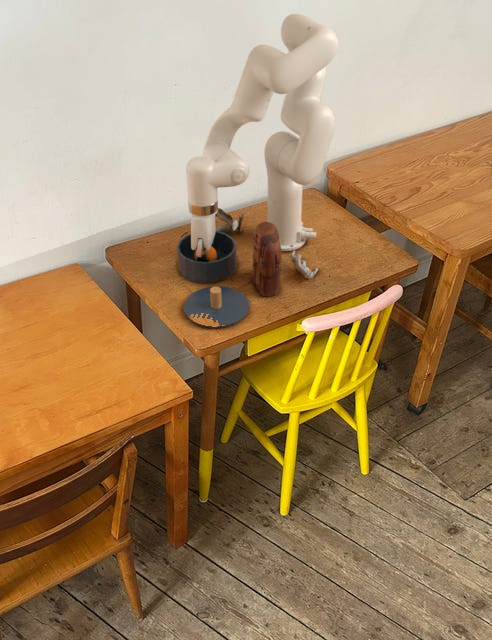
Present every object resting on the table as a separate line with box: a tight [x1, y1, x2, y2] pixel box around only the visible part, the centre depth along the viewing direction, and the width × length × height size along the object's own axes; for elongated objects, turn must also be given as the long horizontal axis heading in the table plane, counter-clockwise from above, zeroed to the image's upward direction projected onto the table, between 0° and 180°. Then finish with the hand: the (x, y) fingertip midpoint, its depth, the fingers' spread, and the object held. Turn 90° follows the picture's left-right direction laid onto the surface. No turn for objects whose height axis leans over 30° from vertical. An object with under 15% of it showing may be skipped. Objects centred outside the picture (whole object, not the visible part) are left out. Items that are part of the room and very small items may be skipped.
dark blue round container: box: [176, 231, 238, 284], centre depth 200 cm, size 16×16×6 cm
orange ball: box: [195, 246, 217, 262], centre depth 199 cm, size 6×6×6 cm
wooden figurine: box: [252, 221, 282, 297], centre depth 189 cm, size 12×6×18 cm, turn 16°
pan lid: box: [183, 285, 250, 329], centre depth 186 cm, size 16×16×6 cm
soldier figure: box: [289, 249, 319, 282], centre depth 198 cm, size 8×5×12 cm
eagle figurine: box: [215, 207, 245, 234], centre depth 213 cm, size 8×7×9 cm
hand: (206, 263), depth 201 cm, fingers closed on orange ball, 5 cm apart
